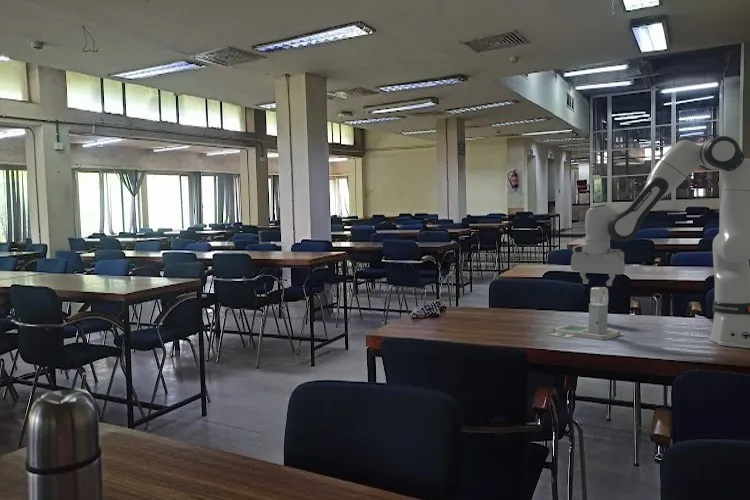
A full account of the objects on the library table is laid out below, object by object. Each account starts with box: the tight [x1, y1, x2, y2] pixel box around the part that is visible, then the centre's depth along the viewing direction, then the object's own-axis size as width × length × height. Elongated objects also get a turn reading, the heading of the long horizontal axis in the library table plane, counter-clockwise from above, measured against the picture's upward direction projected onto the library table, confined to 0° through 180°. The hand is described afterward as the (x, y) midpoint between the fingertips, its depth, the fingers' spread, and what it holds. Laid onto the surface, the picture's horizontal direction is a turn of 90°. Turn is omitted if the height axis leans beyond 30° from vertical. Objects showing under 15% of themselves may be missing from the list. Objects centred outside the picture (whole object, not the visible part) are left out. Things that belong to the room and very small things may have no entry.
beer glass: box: [589, 286, 609, 306], centre depth 246 cm, size 7×7×15 cm
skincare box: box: [588, 302, 609, 335], centre depth 224 cm, size 6×4×12 cm
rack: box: [549, 323, 621, 341], centre depth 227 cm, size 21×17×2 cm
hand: (597, 284), depth 223 cm, fingers open, 8 cm apart
